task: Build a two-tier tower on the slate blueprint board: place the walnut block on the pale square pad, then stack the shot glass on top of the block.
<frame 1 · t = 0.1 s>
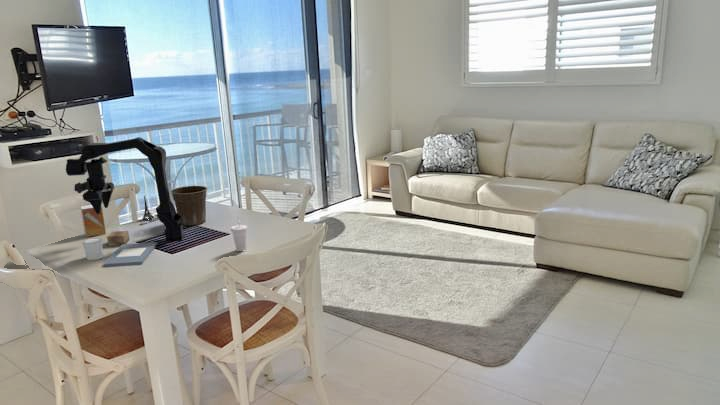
hand: (102, 210, 217), 14 cm above the table, tool pointing down, fingers open, 9 cm apart
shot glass: (95, 257, 204), on the table
smoothie: (241, 250, 207), on the table
blueprint board: (132, 254, 206), on the table
plant pot: (193, 222, 246), on the table
eiffel tower figurine: (148, 221, 252), on the table
small box: (95, 234, 233), on the table
walnut block: (119, 243, 220), on the table
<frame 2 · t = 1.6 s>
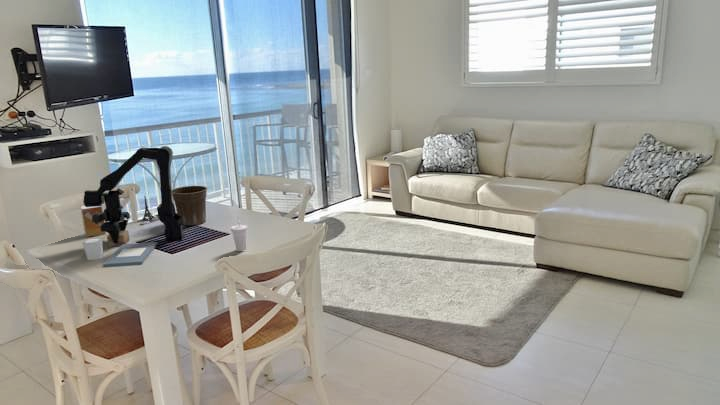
hand: (118, 240, 220), 1 cm above the table, tool pointing down, fingers closed on walnut block, 7 cm apart
walnut block: (119, 243, 220), on the table, touching gripper
everything else where it was.
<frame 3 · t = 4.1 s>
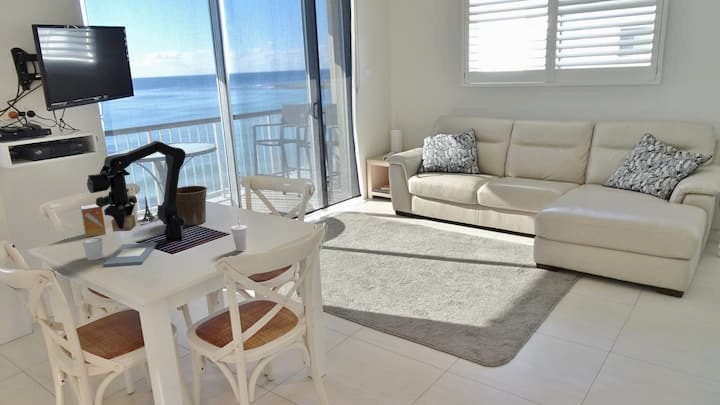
hand: (124, 226, 206), 11 cm above the table, tool pointing down, fingers closed on walnut block, 7 cm apart
walnut block: (124, 228, 206), point 10 cm above the table, touching gripper
when the fingers open (4 cm above the table, at t = 6.3 s): walnut block drops 1 cm, resting on blueprint board.
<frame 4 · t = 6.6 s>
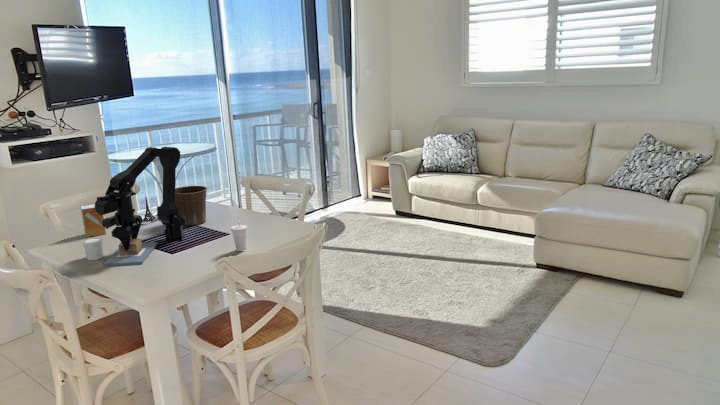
hand: (130, 246, 205), 4 cm above the table, tool pointing down, fingers open, 9 cm apart
walnut block: (131, 252, 205), point 1 cm above the table, touching blueprint board
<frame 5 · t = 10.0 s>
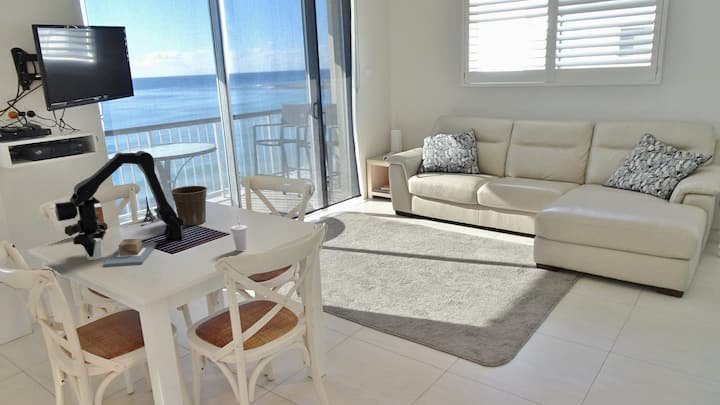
hand: (94, 253, 204), 2 cm above the table, tool pointing down, fingers closed on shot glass, 6 cm apart
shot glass: (95, 257, 204), on the table, touching gripper
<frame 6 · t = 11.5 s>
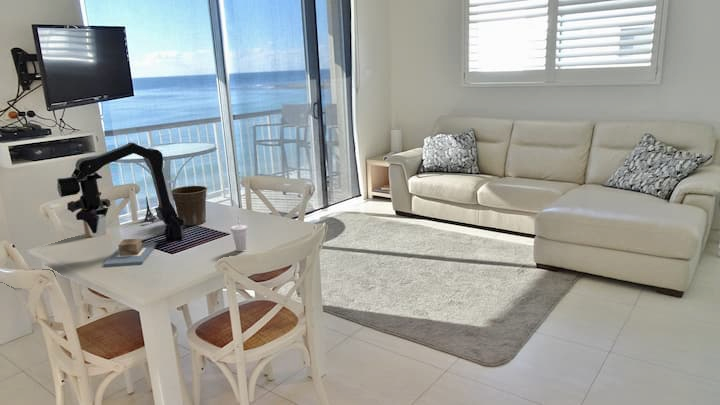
hand: (97, 230, 202), 11 cm above the table, tool pointing down, fingers closed on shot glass, 6 cm apart
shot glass: (98, 234, 202), point 9 cm above the table, touching gripper
when the fingers open (8 cm above the table, at t = 13.2 s): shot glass drops 1 cm, resting on walnut block.
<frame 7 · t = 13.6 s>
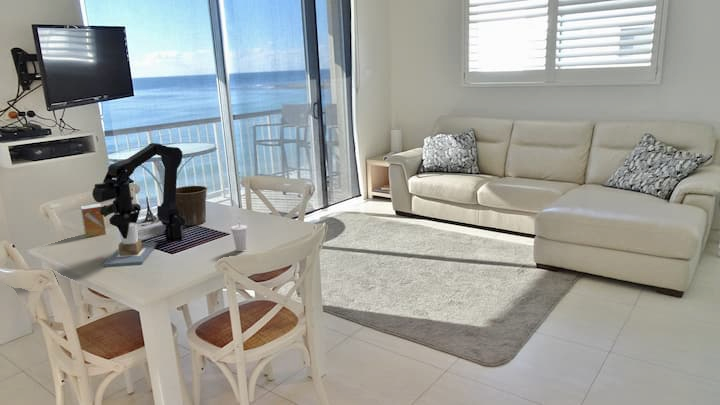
hand: (128, 234, 203), 8 cm above the table, tool pointing down, fingers open, 9 cm apart
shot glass: (130, 242, 204), point 5 cm above the table, touching walnut block
walnut block: (131, 252, 205), point 1 cm above the table, touching blueprint board, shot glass
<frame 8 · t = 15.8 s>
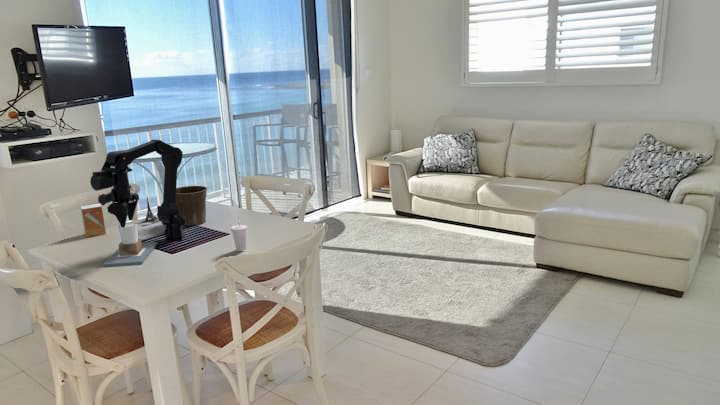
hand: (127, 223, 202), 13 cm above the table, tool pointing down, fingers open, 9 cm apart
at the end: walnut block 0.1 cm off-centre on the blueprint board, point 1.1 cm above the blueprint board's base; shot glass 0.1 cm off-centre on the walnut block, point 4.2 cm above the walnut block's base; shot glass tilted 0° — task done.
